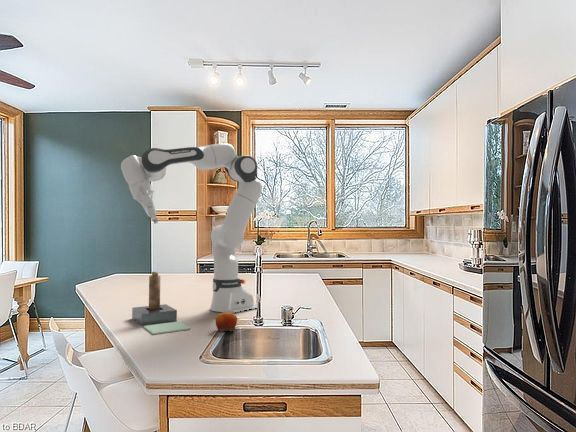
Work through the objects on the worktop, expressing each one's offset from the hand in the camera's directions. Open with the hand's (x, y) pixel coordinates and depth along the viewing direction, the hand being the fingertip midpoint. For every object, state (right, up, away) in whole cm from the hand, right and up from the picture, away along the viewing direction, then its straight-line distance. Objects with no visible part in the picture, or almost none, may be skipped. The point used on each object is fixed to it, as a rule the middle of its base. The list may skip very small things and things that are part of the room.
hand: (155, 220), depth 180 cm
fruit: (+33, -41, -21) cm, 57 cm away
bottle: (+1, -41, -6) cm, 41 cm away
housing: (+1, -41, -6) cm, 41 cm away
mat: (+10, -41, -19) cm, 46 cm away
